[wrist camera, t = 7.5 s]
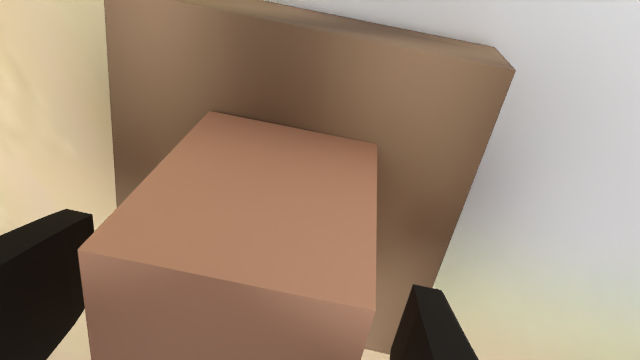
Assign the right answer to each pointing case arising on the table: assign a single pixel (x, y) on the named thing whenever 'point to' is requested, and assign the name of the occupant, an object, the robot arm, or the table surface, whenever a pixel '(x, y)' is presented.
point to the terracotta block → (239, 250)
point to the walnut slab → (315, 109)
